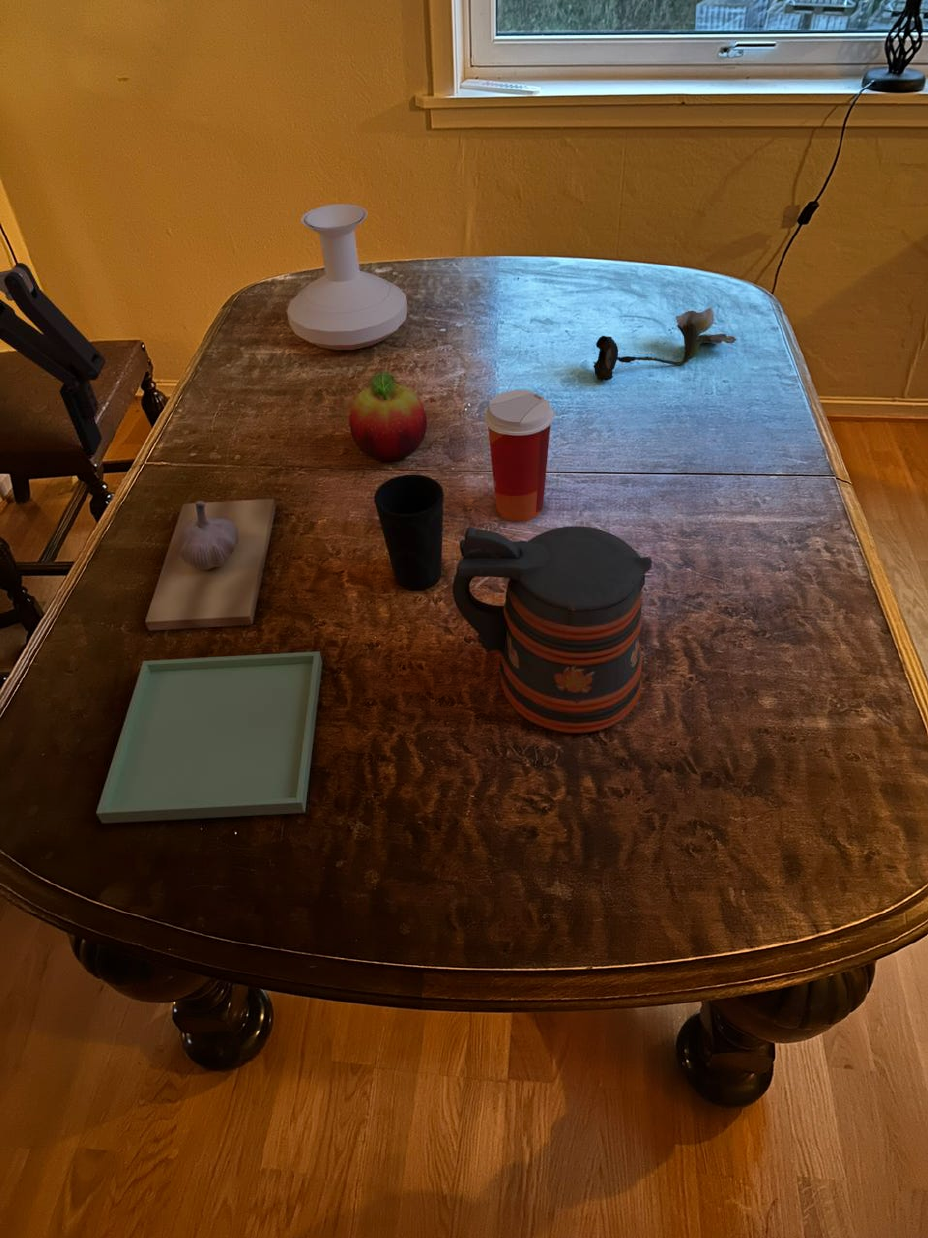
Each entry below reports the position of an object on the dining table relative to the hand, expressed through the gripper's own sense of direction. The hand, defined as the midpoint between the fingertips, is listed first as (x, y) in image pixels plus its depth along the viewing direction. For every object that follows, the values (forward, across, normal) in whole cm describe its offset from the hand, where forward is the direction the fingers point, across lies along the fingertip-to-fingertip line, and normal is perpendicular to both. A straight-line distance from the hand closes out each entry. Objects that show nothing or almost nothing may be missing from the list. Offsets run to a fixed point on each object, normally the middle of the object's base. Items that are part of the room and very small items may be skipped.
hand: (20, 451), depth 81 cm
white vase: (+27, -22, -73) cm, 81 cm away
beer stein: (+27, -48, +8) cm, 56 cm away
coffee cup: (+27, -47, -22) cm, 58 cm away
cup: (+27, -34, -10) cm, 44 cm away
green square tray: (+27, -14, +13) cm, 33 cm away
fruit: (+27, -30, -37) cm, 55 cm away
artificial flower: (+27, -72, -57) cm, 96 cm away
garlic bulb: (+25, -9, -14) cm, 30 cm away
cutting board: (+27, -9, -14) cm, 31 cm away
